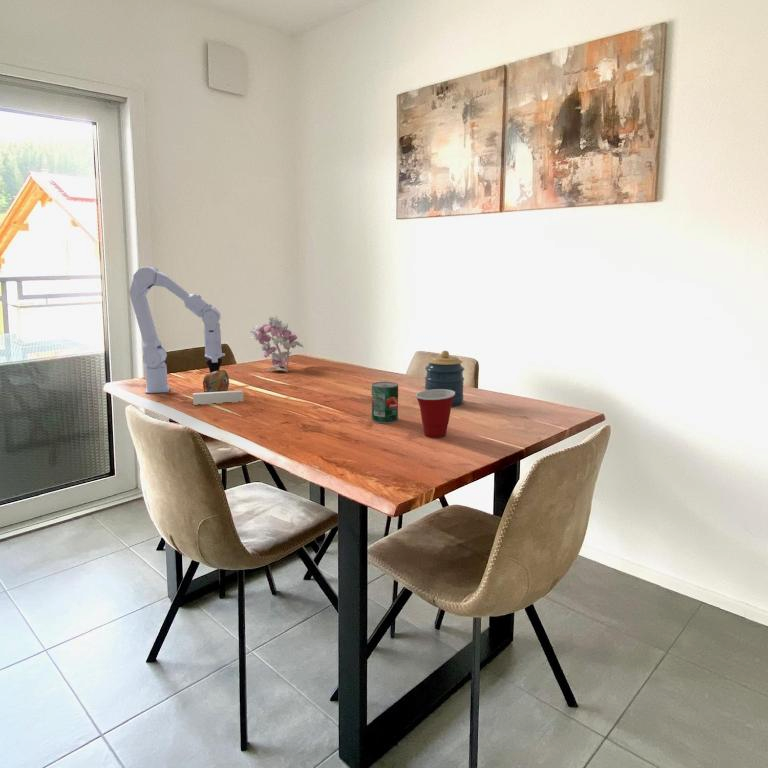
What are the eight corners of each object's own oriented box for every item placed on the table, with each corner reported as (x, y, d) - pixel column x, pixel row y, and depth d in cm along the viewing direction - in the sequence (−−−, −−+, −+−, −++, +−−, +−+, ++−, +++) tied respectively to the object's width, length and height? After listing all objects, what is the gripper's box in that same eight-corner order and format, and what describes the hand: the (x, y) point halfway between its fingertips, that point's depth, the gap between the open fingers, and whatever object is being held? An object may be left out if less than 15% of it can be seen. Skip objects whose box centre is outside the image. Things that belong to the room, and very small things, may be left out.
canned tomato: (372, 416, 185) (372, 381, 183) (398, 417, 185) (398, 381, 183) (370, 423, 178) (370, 386, 176) (397, 423, 177) (398, 386, 175)
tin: (210, 400, 207) (209, 375, 205) (202, 399, 207) (200, 375, 206) (230, 391, 221) (229, 368, 219) (222, 390, 222) (221, 367, 220)
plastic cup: (412, 430, 171) (412, 388, 169) (450, 429, 172) (451, 387, 170) (417, 441, 160) (418, 396, 158) (457, 440, 161) (459, 396, 159)
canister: (419, 405, 200) (420, 352, 197) (430, 397, 212) (431, 347, 209) (458, 408, 196) (459, 354, 193) (467, 400, 208) (468, 349, 205)
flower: (321, 365, 268) (301, 312, 270) (293, 367, 247) (272, 311, 249) (285, 381, 276) (267, 330, 278) (256, 385, 255) (236, 330, 257)
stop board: (193, 403, 201) (192, 393, 200) (242, 400, 206) (242, 390, 205) (193, 404, 199) (192, 394, 198) (243, 401, 204) (242, 391, 203)
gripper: (225, 344, 214) (227, 382, 217) (223, 339, 228) (224, 374, 230) (204, 345, 212) (206, 383, 215) (203, 339, 225) (205, 375, 228)
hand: (214, 379), depth 222 cm, fingers closed
